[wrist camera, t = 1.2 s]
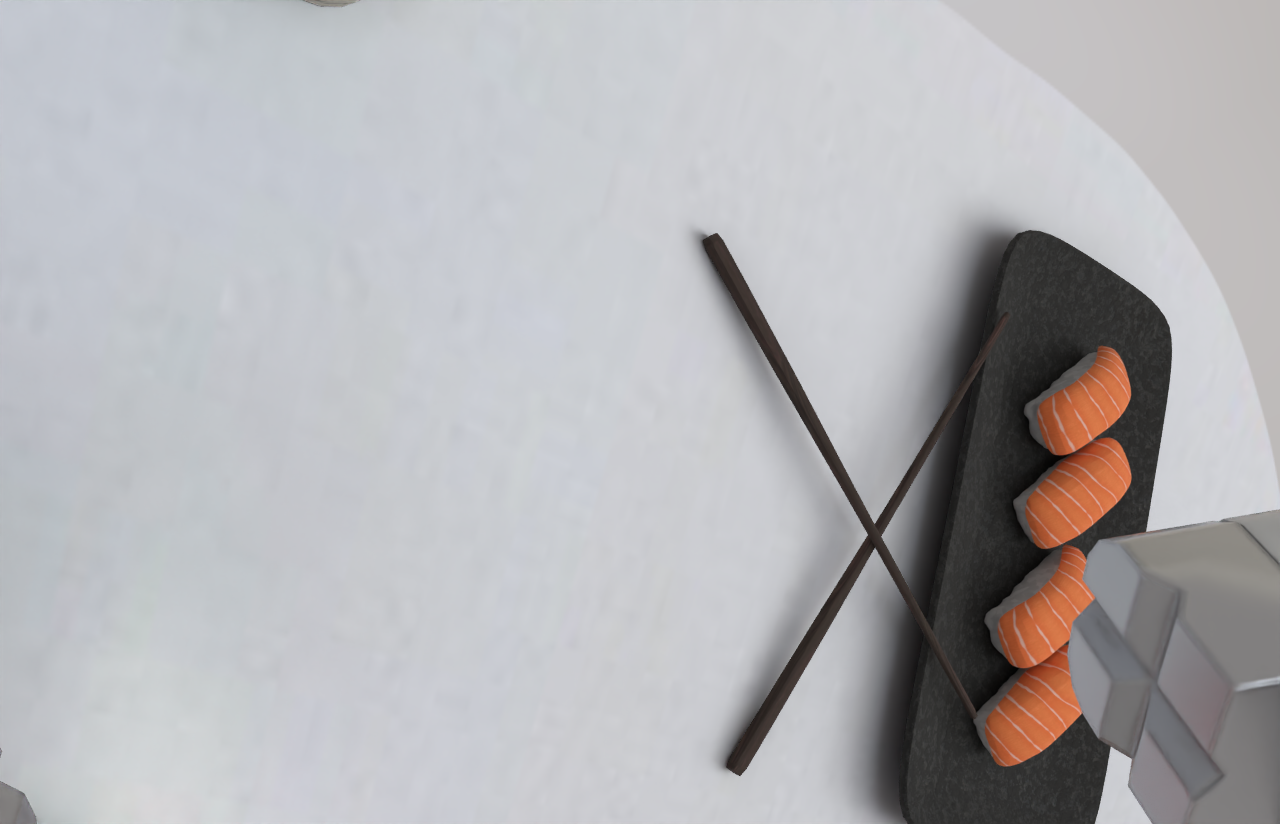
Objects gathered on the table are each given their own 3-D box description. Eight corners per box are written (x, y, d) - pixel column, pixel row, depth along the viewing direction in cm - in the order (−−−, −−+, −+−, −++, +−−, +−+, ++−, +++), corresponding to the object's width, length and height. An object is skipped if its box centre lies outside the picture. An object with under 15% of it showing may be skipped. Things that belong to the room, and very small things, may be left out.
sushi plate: (1057, 861, 59) (1126, 884, 56) (567, 776, 43) (625, 802, 40) (1149, 318, 65) (1217, 312, 61) (745, 63, 48) (809, 37, 45)
